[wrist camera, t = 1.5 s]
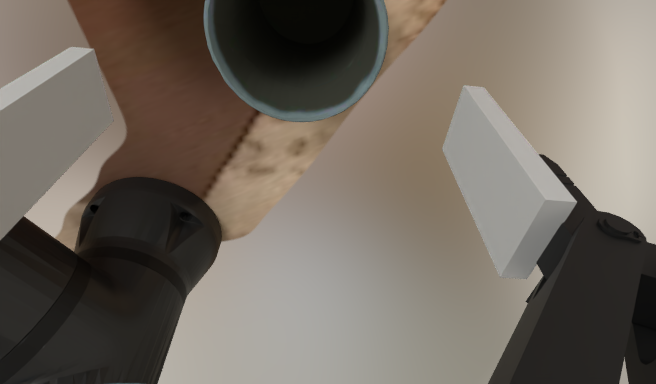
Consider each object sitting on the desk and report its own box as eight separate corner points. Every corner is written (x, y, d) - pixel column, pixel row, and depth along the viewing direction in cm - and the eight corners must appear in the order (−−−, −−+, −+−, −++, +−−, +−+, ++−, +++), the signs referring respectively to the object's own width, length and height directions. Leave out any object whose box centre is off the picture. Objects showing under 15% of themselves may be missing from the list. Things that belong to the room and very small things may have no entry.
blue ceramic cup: (338, 75, 34) (343, 144, 25) (227, 30, 32) (186, 87, 22) (392, -47, 28) (425, -18, 19) (262, -113, 26) (226, -119, 17)
